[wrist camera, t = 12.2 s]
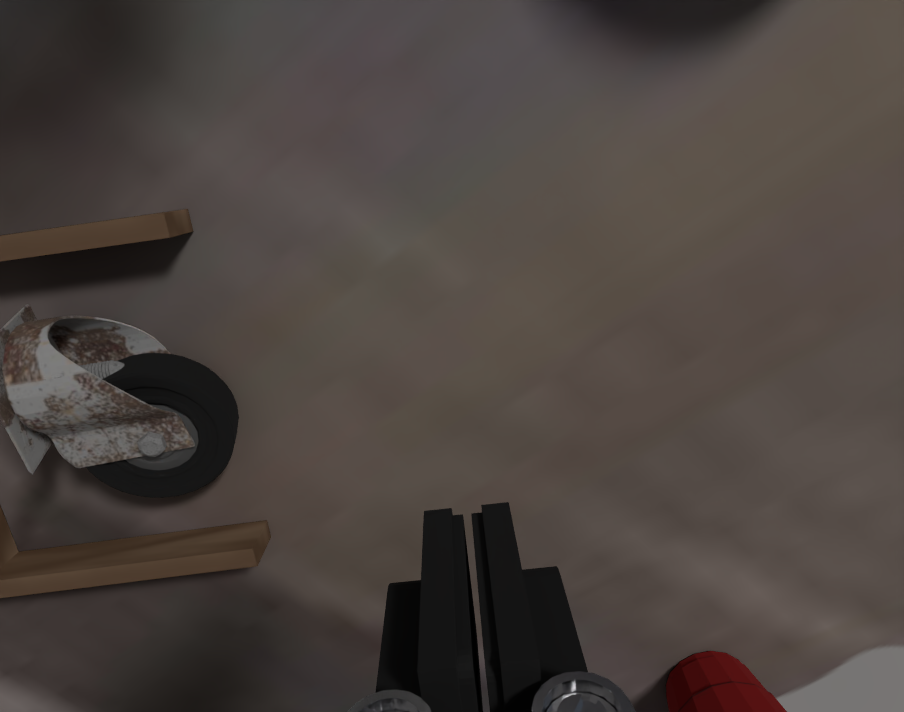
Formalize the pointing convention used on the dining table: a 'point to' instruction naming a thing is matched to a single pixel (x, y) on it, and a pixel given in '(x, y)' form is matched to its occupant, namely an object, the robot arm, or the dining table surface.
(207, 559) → the walnut bay
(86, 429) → the caster wheel
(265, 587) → the dining table surface
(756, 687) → the plastic cup
